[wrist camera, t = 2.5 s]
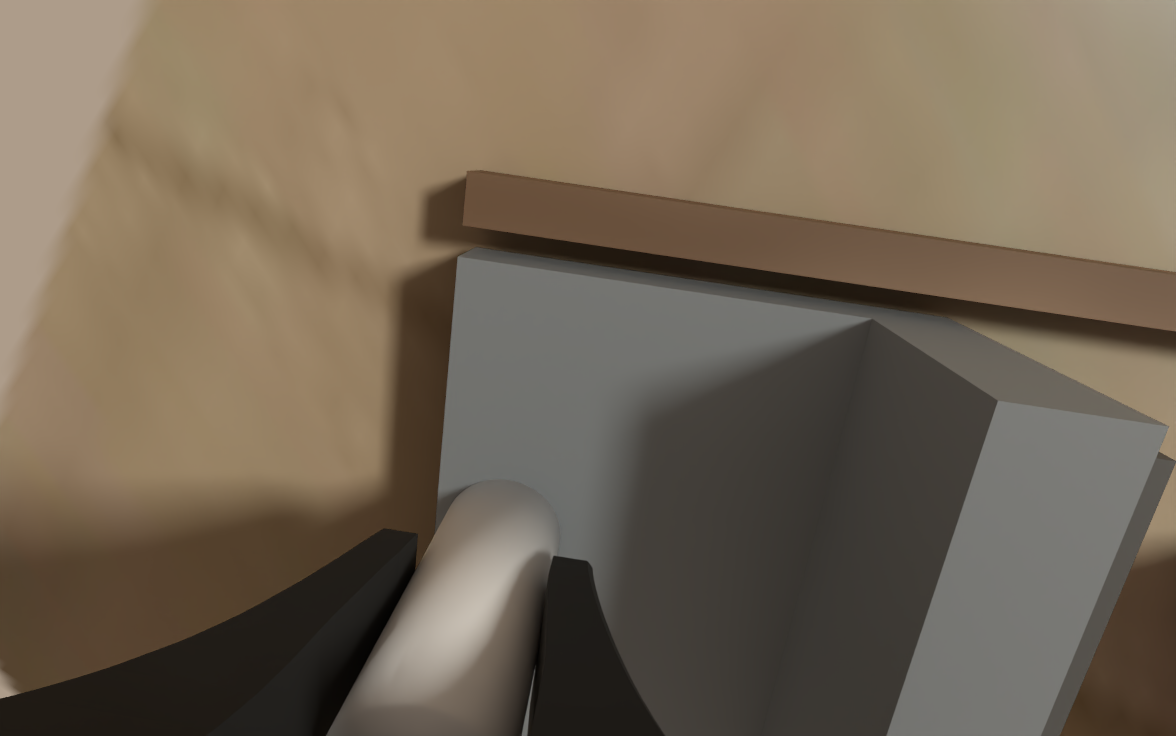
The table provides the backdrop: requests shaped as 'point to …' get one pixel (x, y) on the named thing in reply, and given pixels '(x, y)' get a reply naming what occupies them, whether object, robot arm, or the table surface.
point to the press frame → (822, 249)
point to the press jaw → (760, 513)
